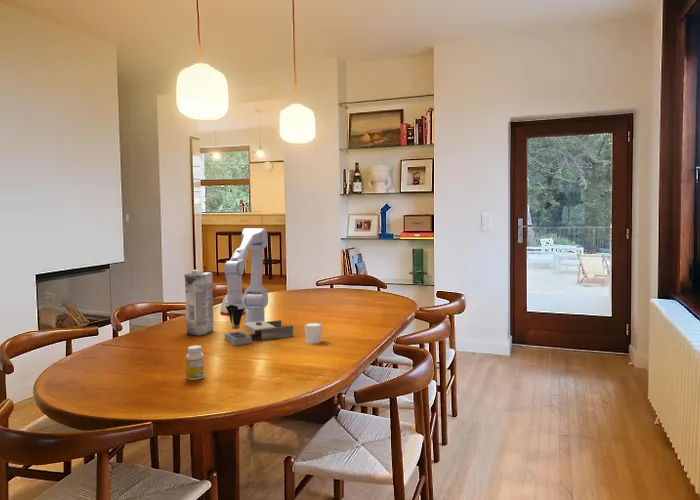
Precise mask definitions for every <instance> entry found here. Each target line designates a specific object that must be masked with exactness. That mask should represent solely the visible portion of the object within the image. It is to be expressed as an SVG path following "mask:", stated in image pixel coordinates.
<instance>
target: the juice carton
mask: <svg viewBox="0 0 700 500" xmlns="http://www.w3.org/2000/svg"><path fill="white" fill-rule="evenodd" d="M190 270H191V269H190ZM190 272H191V273H184V283H185V286H184V287H185V288H184V289H185V313H186V314H185V317H186V334H187V335H192V336H203V335H206V334H207V335H208V334H209V333H212V332H214V304H213V303H214V302H213V301H214V299H213V298H214V297H213V272H211V271H210V272H209V271H199V269H192V270H191V271H190Z"/></svg>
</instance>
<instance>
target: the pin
mask: <svg viewBox="0 0 700 500" xmlns="http://www.w3.org/2000/svg"><path fill="white" fill-rule="evenodd" d="M240 326H241V325H234V323H233V317H232V323H231V329H232V330H237V329H241V328H240Z"/></svg>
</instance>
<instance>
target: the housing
mask: <svg viewBox="0 0 700 500" xmlns="http://www.w3.org/2000/svg"><path fill="white" fill-rule="evenodd" d="M265 322H266V323H269V324H271V325H273V326H275V328H270V329H263V330H255V334H253V333H251V332H250V335H258V334H260V337H261V338H260V339H261V340H260V341H262V342H263V341H270V340H276V339H283V338H291V337H294V325H291V324H290V325H283V326H282V319H280V320H279V319H278V320H271V321H265Z"/></svg>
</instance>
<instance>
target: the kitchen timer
mask: <svg viewBox="0 0 700 500" xmlns="http://www.w3.org/2000/svg"><path fill="white" fill-rule="evenodd" d="M225 290H226V291H227V287H226V289H225ZM243 298H244V295H243V294H242V301H243ZM227 299H228V298H227V293H226V295H225V296H224V298H223V299H222V302H221V306H220V310H219V311H220V315H221V316H224V317H229V313H228V311H227V309H226V306H229V304H225V302H227ZM243 307H244V308H245V309H244V311H243V313H242V316H246V310H247V308H246V306H245V305H244V302H243Z"/></svg>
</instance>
